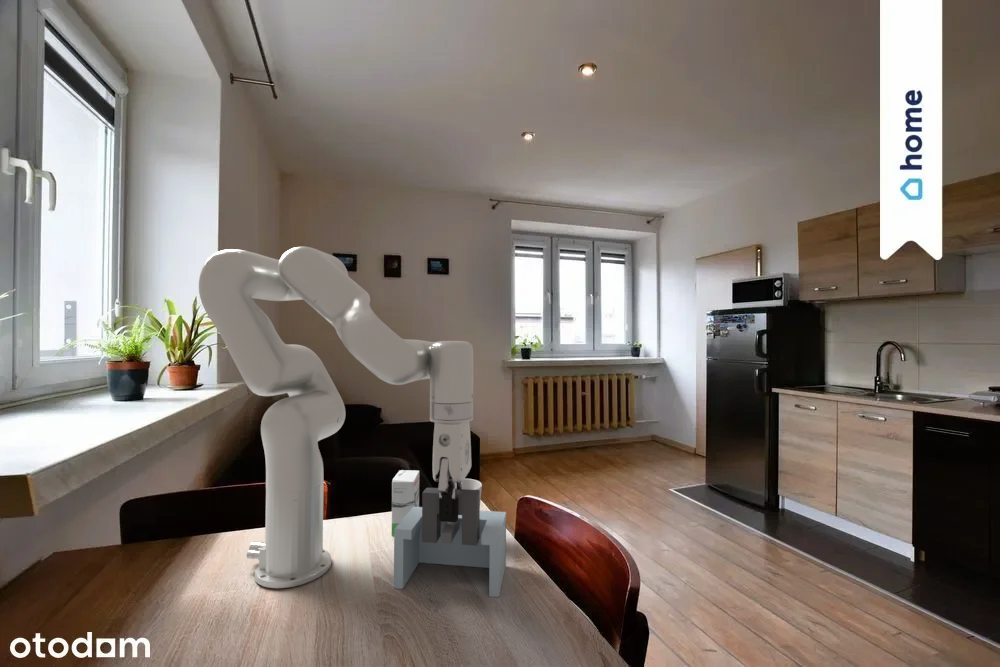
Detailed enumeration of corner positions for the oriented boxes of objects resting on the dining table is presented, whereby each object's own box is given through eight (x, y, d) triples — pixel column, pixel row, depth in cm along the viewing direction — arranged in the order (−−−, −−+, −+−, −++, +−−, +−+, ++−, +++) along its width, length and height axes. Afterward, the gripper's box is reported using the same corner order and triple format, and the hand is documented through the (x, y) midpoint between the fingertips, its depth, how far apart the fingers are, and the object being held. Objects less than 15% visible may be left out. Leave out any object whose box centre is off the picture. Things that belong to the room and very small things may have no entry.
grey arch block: (479, 538, 76) (479, 490, 76) (476, 545, 74) (477, 495, 74) (426, 535, 78) (426, 487, 78) (422, 542, 75) (422, 492, 75)
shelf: (393, 588, 74) (394, 529, 74) (412, 558, 84) (413, 506, 84) (498, 597, 72) (499, 536, 72) (505, 565, 81) (506, 512, 82)
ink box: (413, 536, 93) (414, 481, 93) (390, 536, 93) (391, 481, 93) (419, 519, 102) (420, 469, 102) (398, 519, 102) (398, 469, 102)
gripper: (463, 420, 67) (462, 539, 67) (480, 405, 84) (480, 501, 83) (416, 419, 68) (415, 536, 68) (442, 404, 84) (441, 499, 84)
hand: (451, 516), depth 76 cm, fingers closed on grey arch block, 2 cm apart
